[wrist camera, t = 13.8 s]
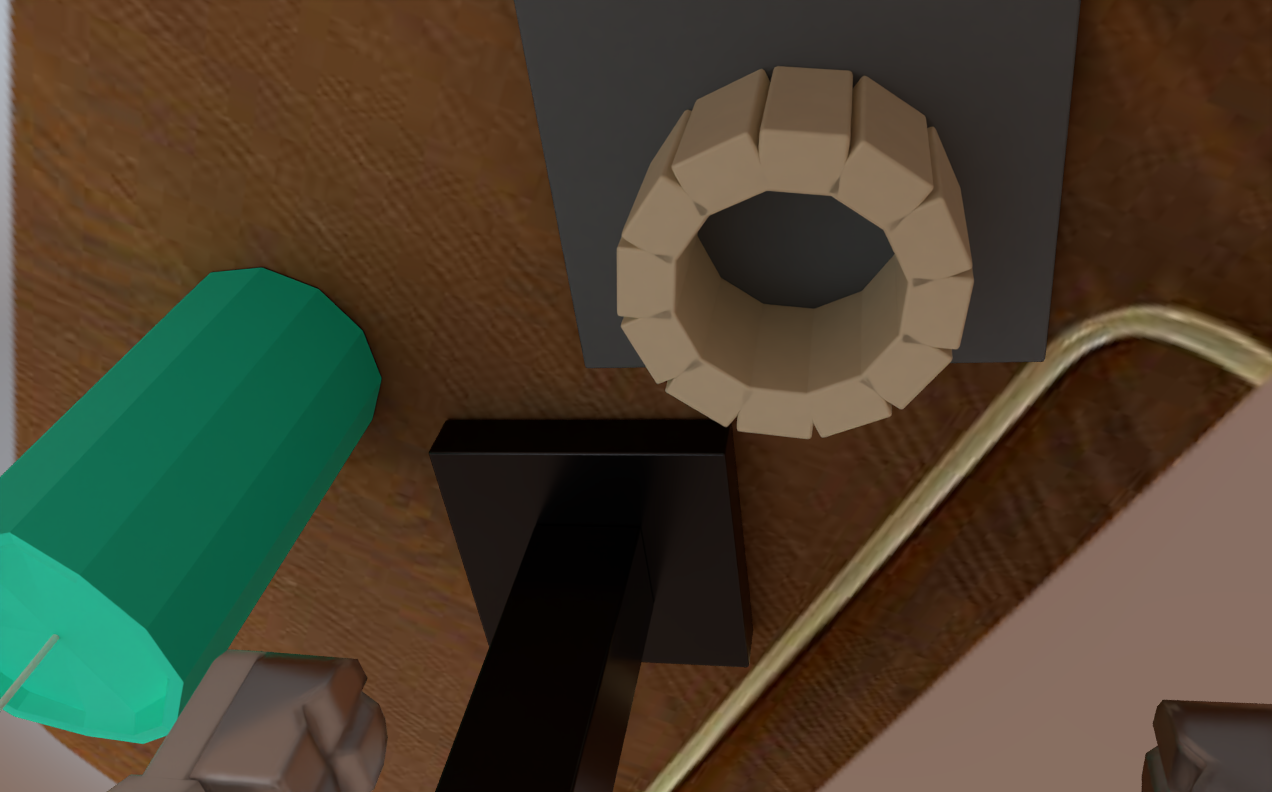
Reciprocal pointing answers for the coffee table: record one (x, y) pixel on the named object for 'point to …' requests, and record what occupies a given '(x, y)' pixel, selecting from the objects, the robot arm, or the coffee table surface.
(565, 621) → the stand
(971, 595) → the coffee table surface
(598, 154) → the mat
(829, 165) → the tan segmented ring
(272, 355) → the candle
